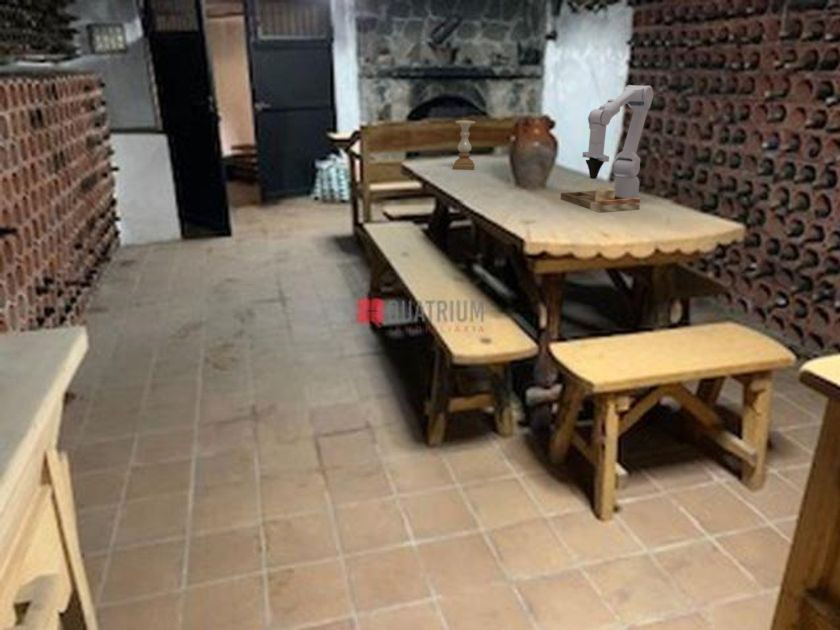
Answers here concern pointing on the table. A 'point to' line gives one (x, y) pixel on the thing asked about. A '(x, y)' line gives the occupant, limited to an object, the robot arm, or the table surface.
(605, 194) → the beech block
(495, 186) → the table surface
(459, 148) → the candle holder
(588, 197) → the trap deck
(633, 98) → the robot arm
